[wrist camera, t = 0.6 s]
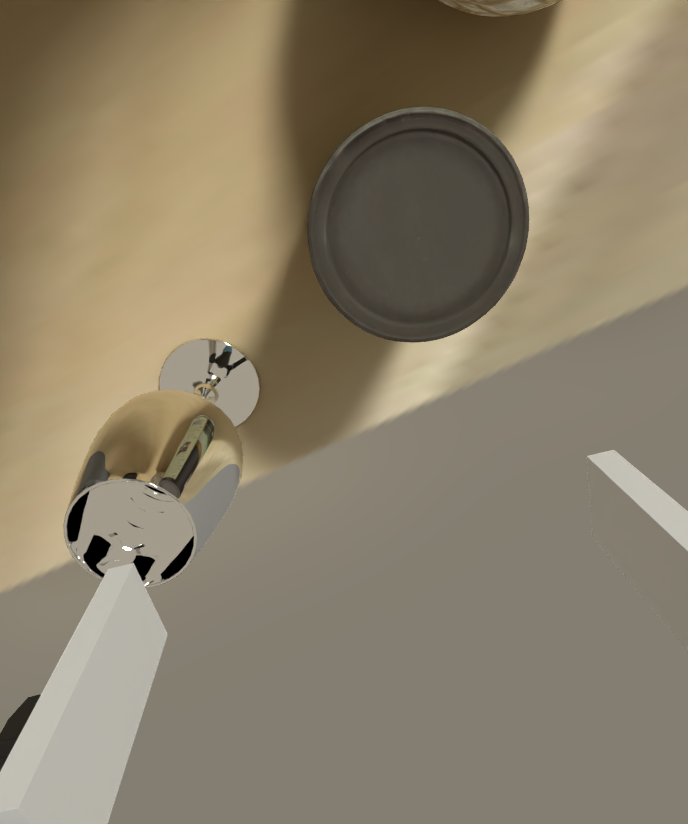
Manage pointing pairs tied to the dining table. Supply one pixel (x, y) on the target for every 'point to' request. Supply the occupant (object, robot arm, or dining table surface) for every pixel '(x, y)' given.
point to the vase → (499, 6)
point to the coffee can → (418, 224)
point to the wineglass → (164, 466)
